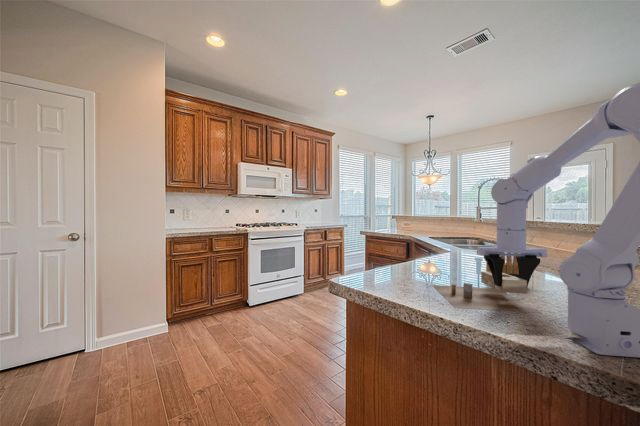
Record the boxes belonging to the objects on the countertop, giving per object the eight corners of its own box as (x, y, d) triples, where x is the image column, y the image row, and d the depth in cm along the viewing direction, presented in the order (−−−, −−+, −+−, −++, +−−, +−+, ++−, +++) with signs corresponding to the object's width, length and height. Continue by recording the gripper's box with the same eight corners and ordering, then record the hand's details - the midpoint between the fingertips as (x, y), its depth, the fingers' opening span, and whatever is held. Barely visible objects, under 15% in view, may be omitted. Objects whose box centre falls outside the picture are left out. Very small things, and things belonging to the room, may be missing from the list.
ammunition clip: (486, 289, 79) (487, 249, 79) (484, 287, 81) (485, 249, 81) (527, 292, 76) (528, 251, 76) (524, 290, 78) (524, 250, 78)
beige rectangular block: (527, 293, 60) (526, 280, 60) (503, 292, 61) (503, 279, 61) (500, 283, 71) (500, 272, 71) (481, 282, 72) (481, 271, 72)
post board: (541, 319, 57) (542, 296, 57) (454, 314, 59) (454, 292, 59) (497, 293, 75) (497, 276, 75) (431, 290, 77) (432, 273, 77)
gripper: (532, 229, 65) (532, 282, 65) (471, 228, 67) (471, 280, 67) (554, 231, 58) (553, 291, 58) (484, 230, 60) (484, 288, 60)
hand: (510, 285), depth 62 cm, fingers closed on beige rectangular block, 5 cm apart
